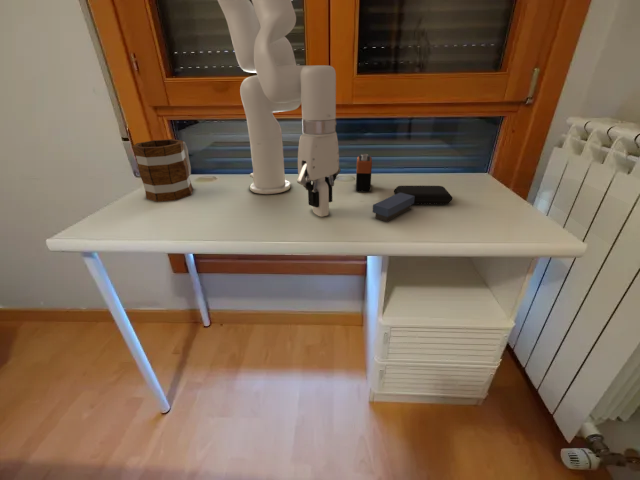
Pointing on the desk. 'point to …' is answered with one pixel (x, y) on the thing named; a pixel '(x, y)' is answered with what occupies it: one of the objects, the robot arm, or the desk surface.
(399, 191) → the carrying case
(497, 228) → the desk surface
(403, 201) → the navy rectangular block
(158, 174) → the mug
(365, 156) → the battery
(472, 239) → the desk surface
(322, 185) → the eye dropper bottle
